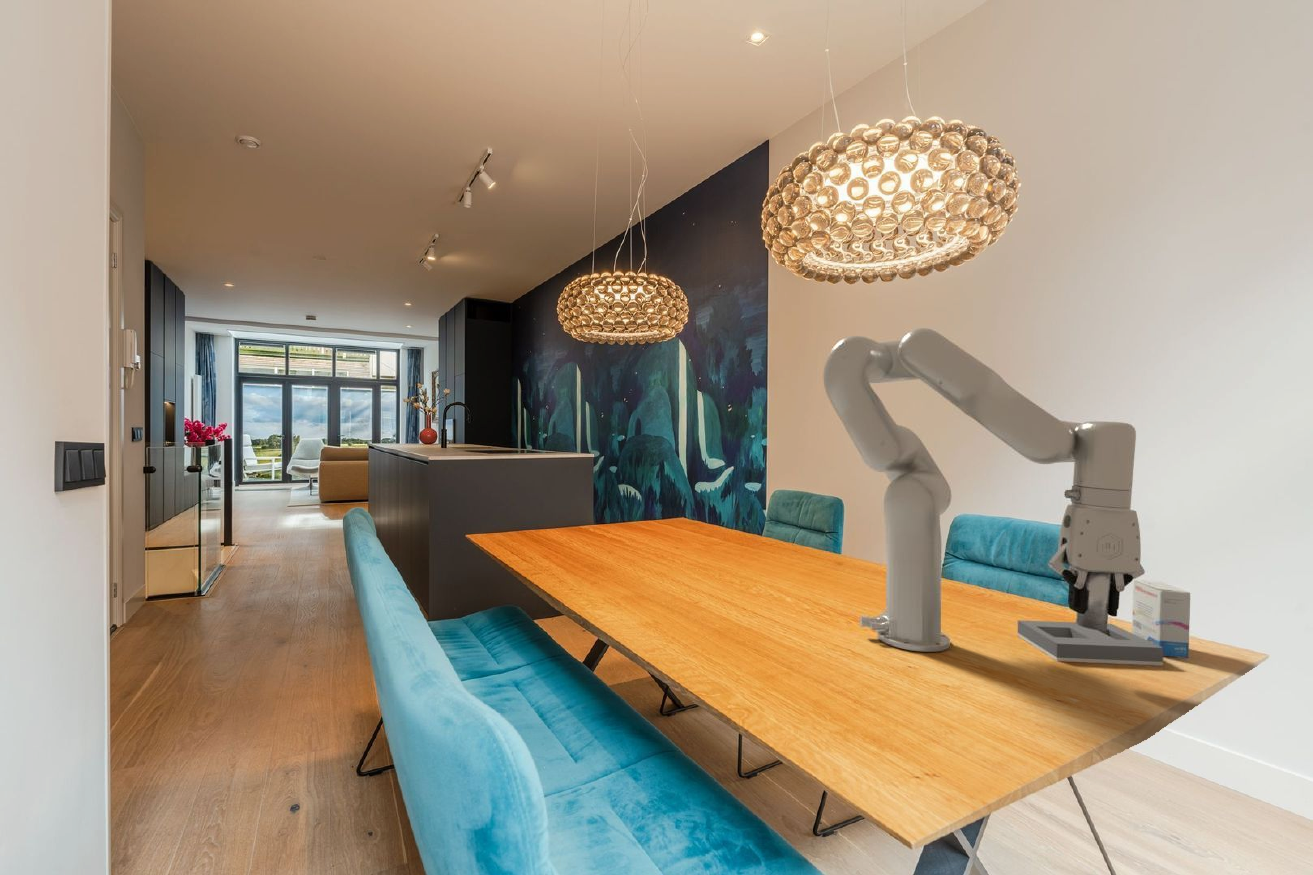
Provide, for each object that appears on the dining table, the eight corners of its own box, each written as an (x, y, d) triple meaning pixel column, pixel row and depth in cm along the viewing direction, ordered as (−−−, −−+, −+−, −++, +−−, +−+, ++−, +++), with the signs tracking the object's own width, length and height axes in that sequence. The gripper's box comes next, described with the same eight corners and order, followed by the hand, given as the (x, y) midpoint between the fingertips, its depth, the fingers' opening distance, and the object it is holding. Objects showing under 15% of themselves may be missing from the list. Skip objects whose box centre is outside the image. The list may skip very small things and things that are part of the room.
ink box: (1191, 658, 103) (1192, 591, 103) (1158, 656, 104) (1159, 589, 104) (1160, 642, 111) (1161, 579, 111) (1130, 640, 112) (1130, 578, 112)
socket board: (1056, 660, 101) (1057, 643, 101) (1017, 635, 114) (1017, 620, 114) (1162, 665, 100) (1163, 647, 100) (1111, 639, 113) (1111, 623, 113)
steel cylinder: (1086, 629, 93) (1092, 547, 92) (1070, 620, 97) (1076, 542, 96) (1113, 631, 92) (1119, 549, 92) (1096, 622, 96) (1102, 543, 96)
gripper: (1059, 498, 91) (1050, 615, 91) (1175, 505, 89) (1166, 624, 90) (1032, 492, 98) (1025, 601, 99) (1139, 499, 97) (1131, 609, 97)
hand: (1092, 611), depth 94 cm, fingers closed on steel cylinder, 4 cm apart
